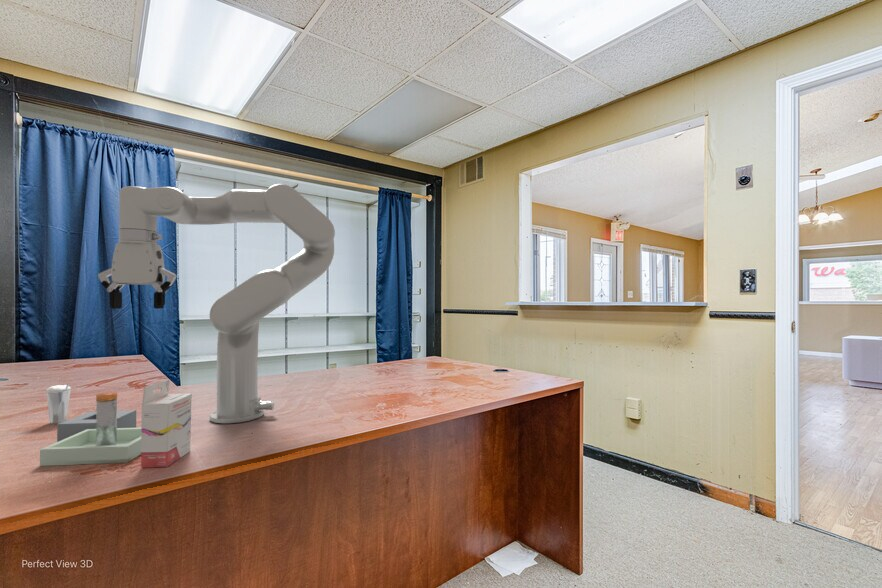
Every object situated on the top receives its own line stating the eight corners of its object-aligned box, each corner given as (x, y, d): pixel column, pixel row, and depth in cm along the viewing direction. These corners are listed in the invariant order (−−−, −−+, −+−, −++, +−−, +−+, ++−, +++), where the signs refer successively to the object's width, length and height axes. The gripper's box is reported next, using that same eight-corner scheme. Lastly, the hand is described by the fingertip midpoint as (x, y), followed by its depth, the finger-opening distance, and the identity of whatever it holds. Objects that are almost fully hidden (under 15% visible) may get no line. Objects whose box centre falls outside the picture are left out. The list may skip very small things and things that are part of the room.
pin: (120, 445, 86) (121, 392, 86) (109, 451, 82) (110, 395, 83) (103, 446, 85) (103, 392, 85) (91, 452, 82) (92, 396, 82)
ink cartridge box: (168, 467, 76) (169, 387, 77) (139, 468, 76) (140, 387, 76) (192, 450, 85) (192, 378, 85) (166, 451, 85) (167, 378, 85)
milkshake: (58, 425, 101) (58, 384, 101) (40, 424, 102) (41, 383, 102) (78, 420, 106) (78, 380, 106) (61, 418, 107) (61, 379, 107)
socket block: (136, 426, 100) (136, 410, 100) (108, 441, 90) (108, 422, 90) (90, 428, 99) (90, 411, 99) (57, 442, 89) (57, 424, 89)
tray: (162, 440, 91) (162, 426, 91) (127, 462, 79) (127, 446, 79) (87, 443, 89) (87, 429, 89) (39, 465, 77) (40, 449, 77)
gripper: (183, 241, 107) (182, 308, 107) (110, 240, 105) (109, 308, 105) (167, 237, 100) (167, 308, 100) (88, 235, 98) (88, 309, 98)
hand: (137, 308), depth 102 cm, fingers open, 9 cm apart
